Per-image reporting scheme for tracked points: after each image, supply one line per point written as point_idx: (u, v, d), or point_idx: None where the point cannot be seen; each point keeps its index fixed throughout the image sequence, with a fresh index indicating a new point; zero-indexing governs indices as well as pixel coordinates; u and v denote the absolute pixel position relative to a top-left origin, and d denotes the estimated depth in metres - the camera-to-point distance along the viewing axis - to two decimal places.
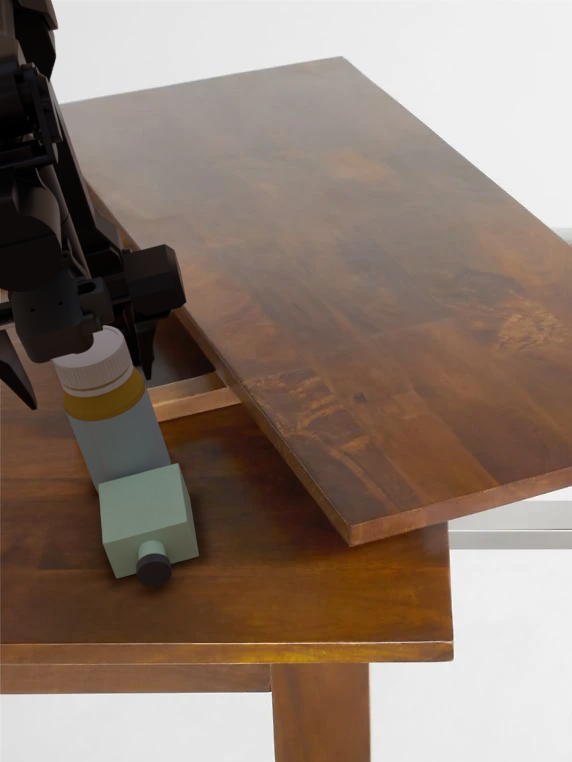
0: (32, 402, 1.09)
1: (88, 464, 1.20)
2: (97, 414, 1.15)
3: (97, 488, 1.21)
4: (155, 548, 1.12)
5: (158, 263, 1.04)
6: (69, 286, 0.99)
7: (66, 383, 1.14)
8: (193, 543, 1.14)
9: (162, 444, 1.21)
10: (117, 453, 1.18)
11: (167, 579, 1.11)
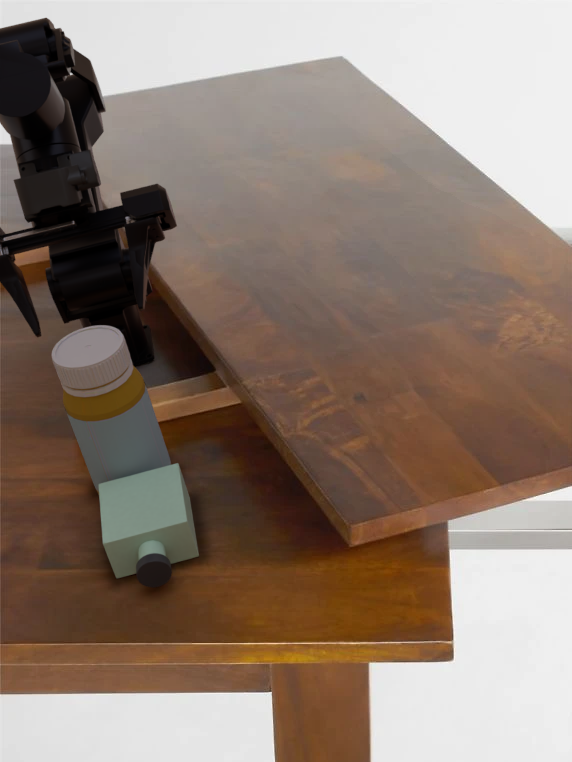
0: (35, 324, 1.20)
1: (88, 464, 1.20)
2: (97, 414, 1.15)
3: (97, 488, 1.21)
4: (155, 548, 1.12)
5: None
6: None
7: (66, 383, 1.14)
8: (193, 543, 1.14)
9: (162, 444, 1.21)
10: (117, 453, 1.18)
11: (167, 579, 1.11)
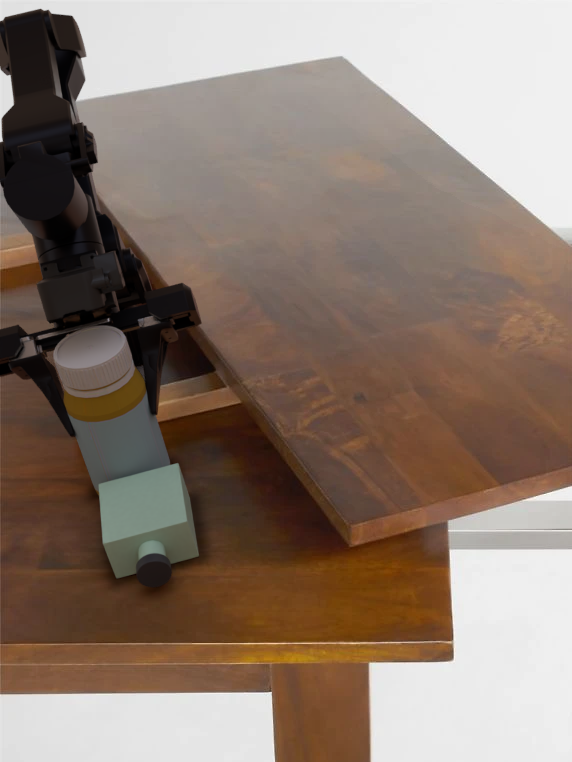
0: (69, 424, 1.17)
1: (88, 464, 1.20)
2: (98, 415, 1.15)
3: (96, 488, 1.21)
4: (155, 548, 1.12)
5: None
6: (89, 268, 1.15)
7: (68, 383, 1.14)
8: (193, 543, 1.14)
9: (162, 444, 1.21)
10: (117, 454, 1.18)
11: (167, 579, 1.11)
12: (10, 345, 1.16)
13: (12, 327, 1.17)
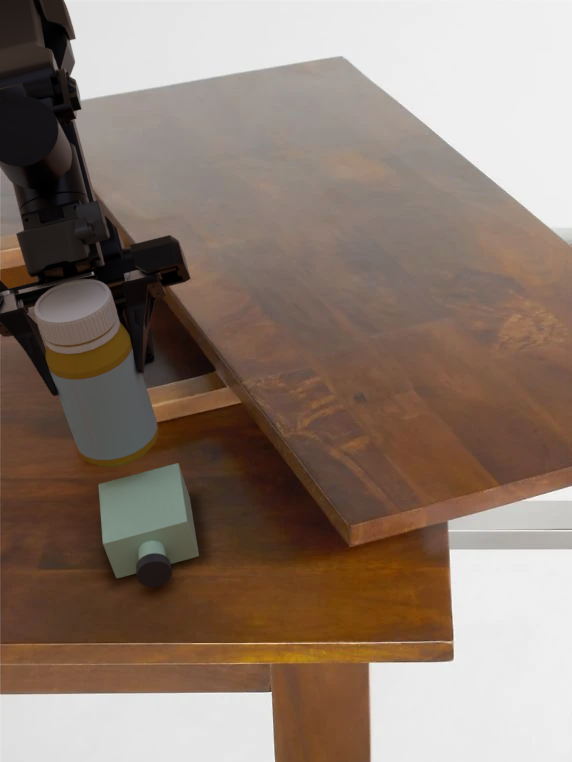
0: (52, 382, 1.12)
1: (71, 424, 1.15)
2: (82, 372, 1.10)
3: (80, 450, 1.16)
4: (155, 548, 1.12)
5: None
6: (72, 218, 1.10)
7: (49, 339, 1.09)
8: (193, 543, 1.14)
9: (149, 405, 1.16)
10: (102, 414, 1.13)
11: (167, 579, 1.11)
12: None
13: None
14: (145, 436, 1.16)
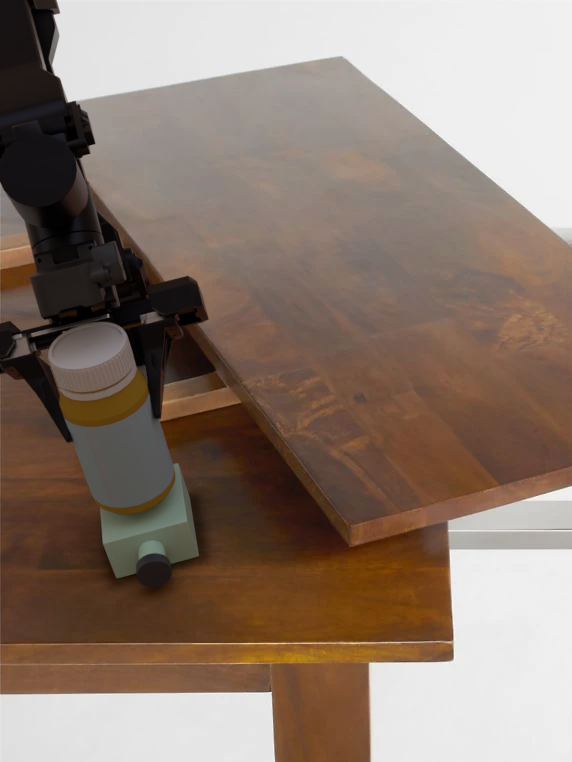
0: (66, 429, 1.08)
1: (85, 471, 1.11)
2: (97, 419, 1.06)
3: (95, 497, 1.12)
4: (155, 548, 1.12)
5: None
6: (87, 259, 1.06)
7: (64, 385, 1.05)
8: (193, 543, 1.14)
9: (166, 450, 1.12)
10: (117, 461, 1.08)
11: (167, 579, 1.11)
12: (1, 343, 1.07)
13: (4, 323, 1.08)
14: (162, 483, 1.12)
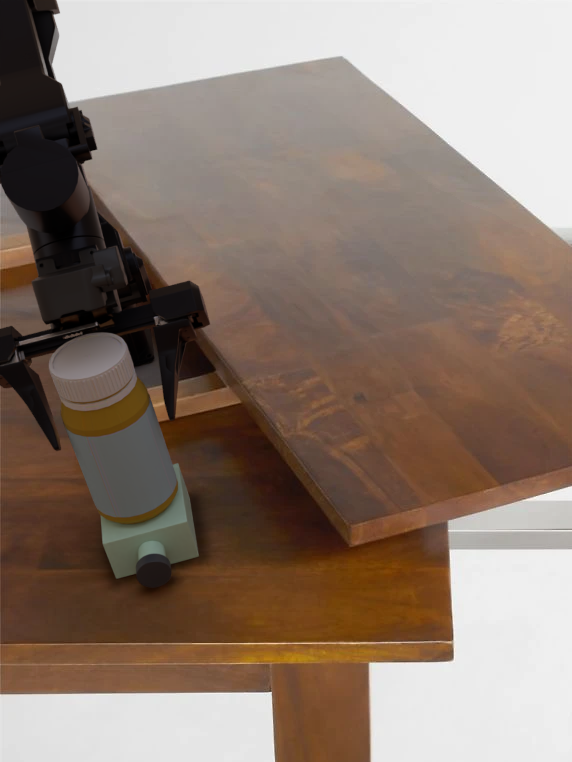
0: (54, 437, 1.08)
1: (88, 482, 1.11)
2: (98, 429, 1.06)
3: (98, 507, 1.13)
4: (155, 548, 1.12)
5: None
6: (89, 264, 1.06)
7: (65, 396, 1.06)
8: (193, 543, 1.14)
9: (168, 459, 1.13)
10: (119, 471, 1.09)
11: (167, 579, 1.11)
12: (3, 347, 1.07)
13: (5, 328, 1.08)
14: (164, 492, 1.13)
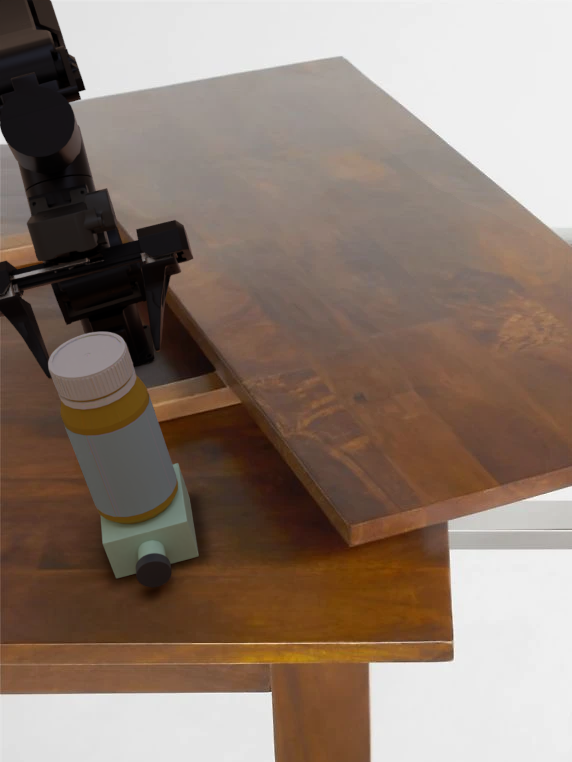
0: (47, 366, 1.16)
1: (88, 481, 1.11)
2: (98, 427, 1.07)
3: (98, 507, 1.13)
4: (155, 548, 1.12)
5: None
6: (80, 205, 1.12)
7: (64, 394, 1.06)
8: (193, 543, 1.14)
9: (167, 459, 1.13)
10: (119, 470, 1.09)
11: (167, 579, 1.11)
12: None
13: (0, 263, 1.14)
14: (164, 492, 1.13)
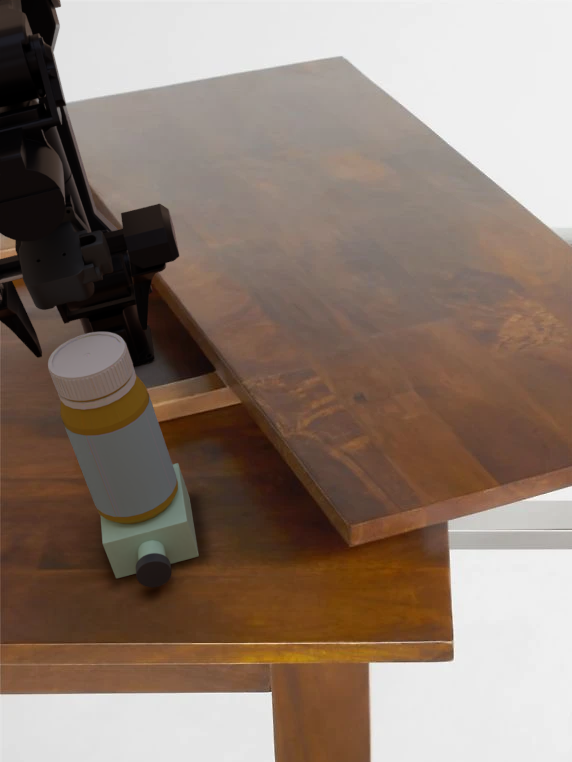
0: (37, 350, 1.18)
1: (88, 481, 1.11)
2: (98, 428, 1.07)
3: (98, 507, 1.13)
4: (155, 548, 1.12)
5: (153, 220, 1.14)
6: (72, 239, 1.08)
7: (64, 394, 1.06)
8: (193, 543, 1.14)
9: (167, 459, 1.13)
10: (119, 470, 1.09)
11: (167, 579, 1.11)
12: None
13: None
14: (164, 492, 1.13)
